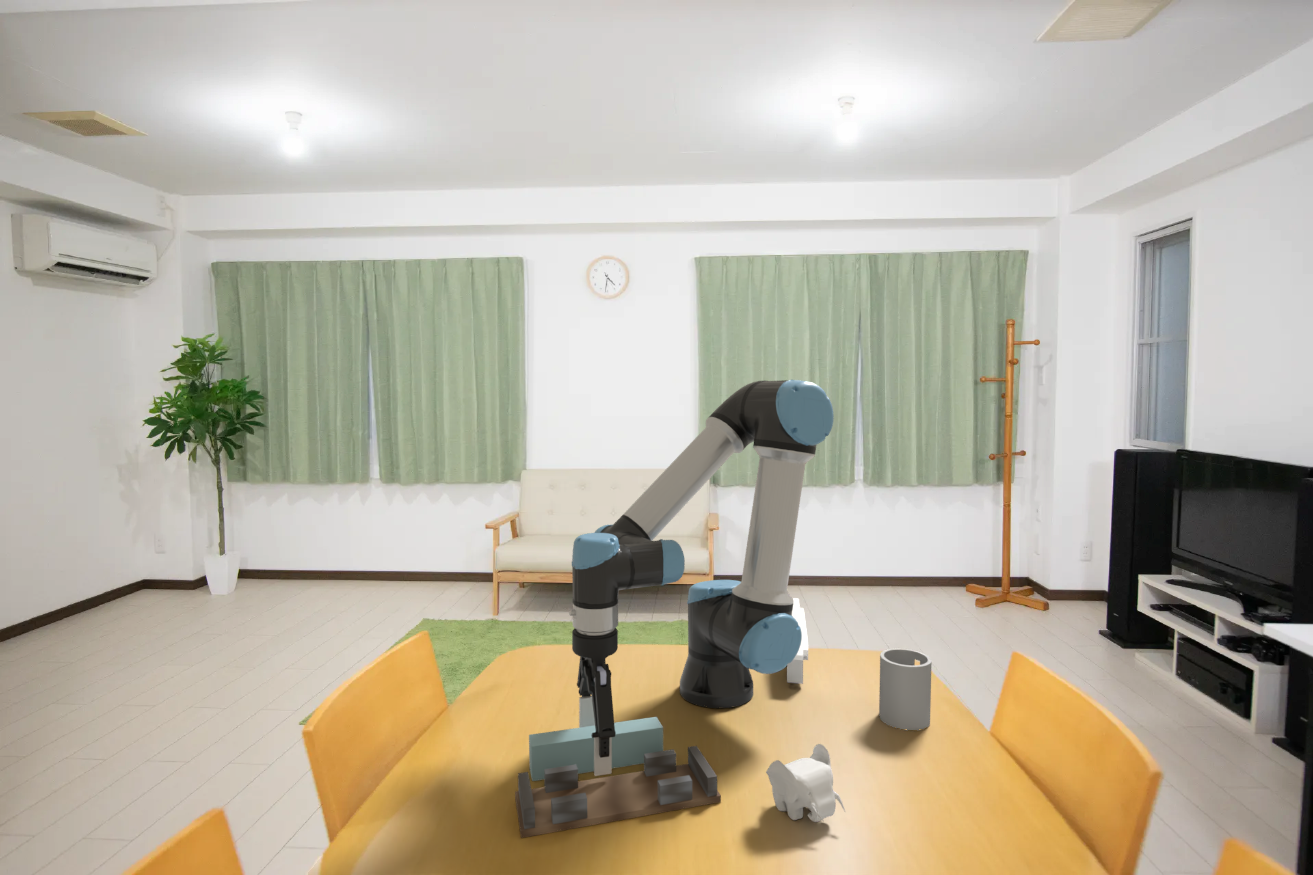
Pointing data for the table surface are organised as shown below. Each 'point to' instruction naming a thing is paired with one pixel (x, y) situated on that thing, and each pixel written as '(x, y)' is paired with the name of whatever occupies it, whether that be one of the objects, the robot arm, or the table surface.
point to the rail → (579, 746)
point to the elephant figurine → (805, 786)
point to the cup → (905, 689)
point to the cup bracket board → (614, 793)
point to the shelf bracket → (797, 663)
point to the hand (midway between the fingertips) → (594, 752)
